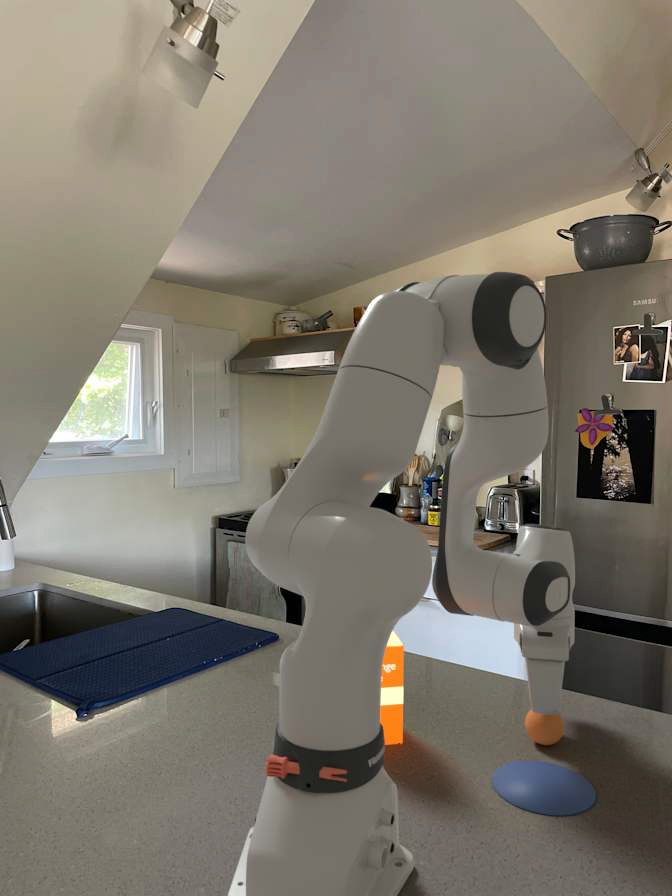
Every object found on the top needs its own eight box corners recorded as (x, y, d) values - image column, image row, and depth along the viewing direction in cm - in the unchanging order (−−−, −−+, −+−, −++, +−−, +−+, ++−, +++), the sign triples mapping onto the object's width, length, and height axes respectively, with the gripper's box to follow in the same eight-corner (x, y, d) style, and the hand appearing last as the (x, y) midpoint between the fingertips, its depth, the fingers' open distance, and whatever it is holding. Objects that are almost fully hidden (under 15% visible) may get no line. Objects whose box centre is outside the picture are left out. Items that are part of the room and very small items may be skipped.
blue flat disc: (600, 823, 83) (600, 821, 83) (489, 805, 86) (489, 804, 86) (591, 769, 95) (591, 768, 95) (494, 756, 99) (494, 755, 99)
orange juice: (352, 748, 101) (353, 612, 100) (339, 721, 110) (340, 596, 109) (404, 743, 103) (405, 609, 102) (387, 717, 111) (388, 594, 110)
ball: (561, 747, 104) (562, 750, 99) (523, 738, 106) (522, 741, 101) (565, 708, 105) (566, 710, 100) (527, 700, 107) (527, 702, 102)
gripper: (522, 607, 117) (522, 688, 118) (521, 650, 97) (521, 746, 98) (562, 610, 115) (561, 691, 116) (569, 654, 95) (568, 751, 96)
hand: (542, 717), depth 107 cm, fingers closed
